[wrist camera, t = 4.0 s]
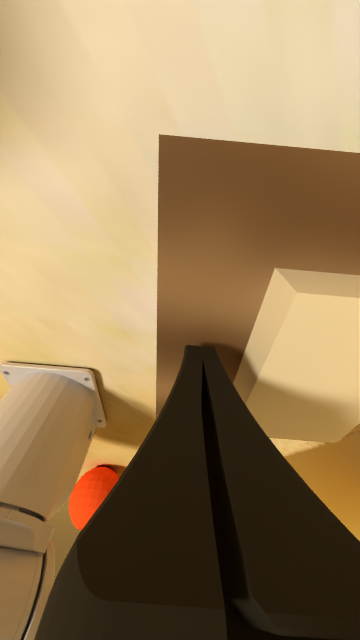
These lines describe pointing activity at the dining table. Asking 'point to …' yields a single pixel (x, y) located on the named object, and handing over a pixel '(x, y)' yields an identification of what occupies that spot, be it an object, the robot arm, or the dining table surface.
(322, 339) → the tile
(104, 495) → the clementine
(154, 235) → the dining table surface
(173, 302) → the brown wooden block
